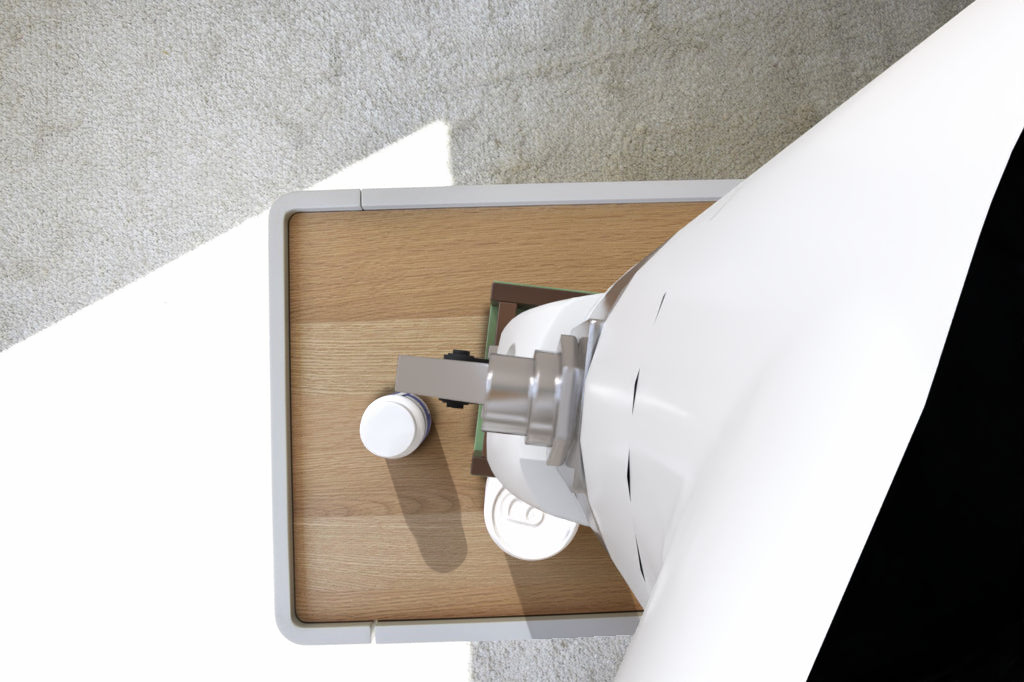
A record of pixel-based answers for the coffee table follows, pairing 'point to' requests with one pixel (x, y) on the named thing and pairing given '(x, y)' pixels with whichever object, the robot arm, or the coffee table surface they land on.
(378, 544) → the coffee table surface
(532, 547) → the beverage can
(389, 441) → the pill bottle
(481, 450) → the cup holder
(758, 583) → the robot arm
